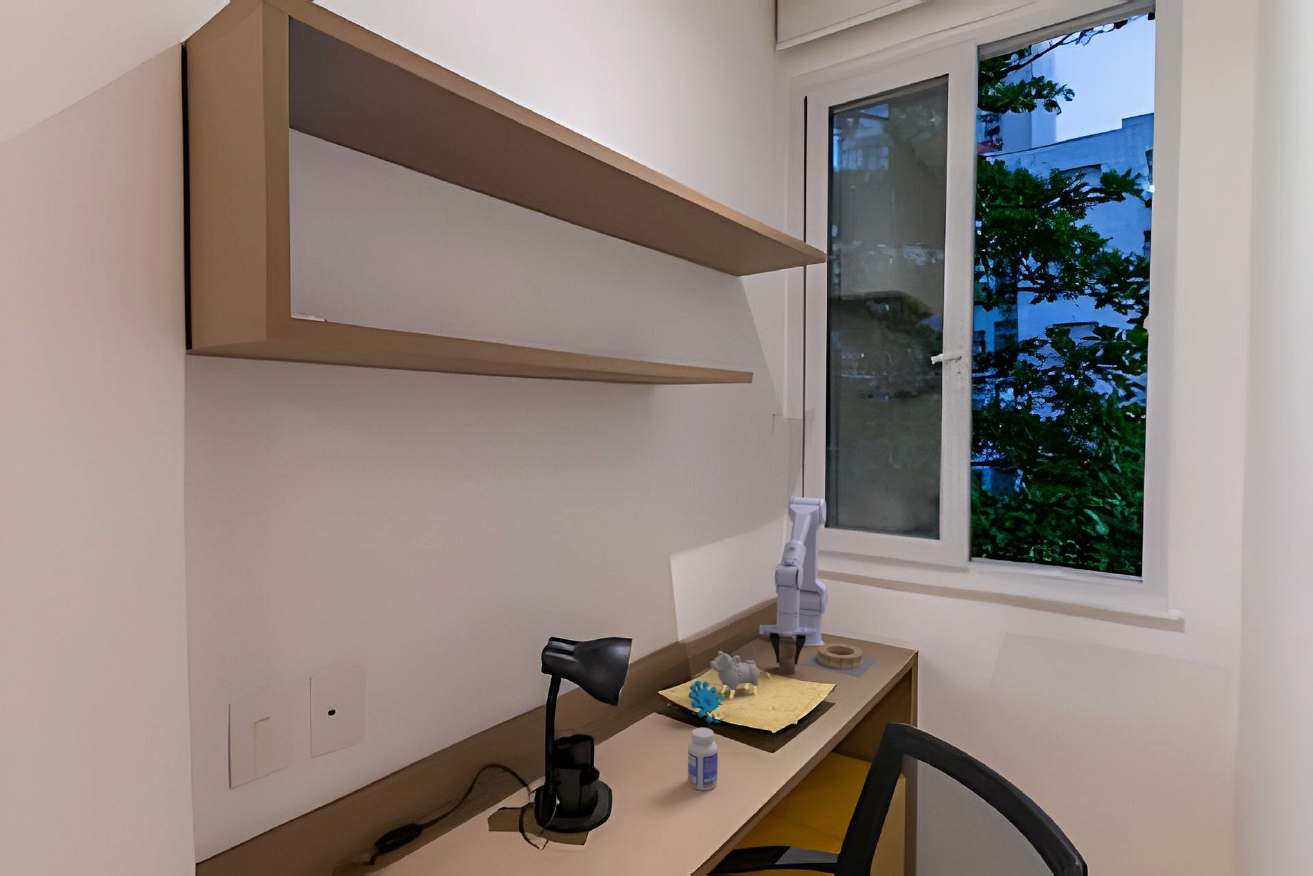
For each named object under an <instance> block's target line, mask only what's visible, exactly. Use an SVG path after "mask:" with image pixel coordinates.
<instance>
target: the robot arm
mask: <svg viewBox="0 0 1313 876" xmlns="http://www.w3.org/2000/svg"><path fill="white" fill-rule="evenodd" d="M787 514H788V517H789V519H790V521H791V522H792V525H791V526H792V527H791V532H790V540H789V541H788V542H786V543H785V545H784V548H783V553H782V555H781V561H780V565H779V566H777V567H776V568H775V572H774V584H775V594H777V595H776V597H777V598H776V599H777V601H776V624H760V625H759V629H758V630H759V635H769V641H770V644H771V646H772V648H773V651H774V654H775V658H776V664H779V643H780V636H790V637H791V638H792V640H795V666H797V665H798V661H799V659H800V658H799V657H800V655H801V653H802V652H801V651H802V649H803V647H809V646H811V647H813V646H814V647H817V646H818V647H820V646H821V645H824V644H826V643H825V642H824V641H823V640H822V626H823V625H822V619H823V614H825V612H826V611H827V609H828V601H829V600H828V599H829V598H828V596H829V595H828V588H827V586H826V585H825V584H824V583H823V582H822V581H820V580H819V579H818V574H819V573H818V571H819V570H818V569H819V568H818V567H819V566H818V565H819V562H818V561H819V560H818V559H819V529H820V526H822V525H825V524H826V521H827V502H826V500H825V499H824V498H818V497H817V498H816V497H798V496H793V495H792V496H791V497H790V498H789V500H788V504H787Z"/></svg>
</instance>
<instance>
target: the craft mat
mask: <svg viewBox="0 0 1313 876" xmlns="http://www.w3.org/2000/svg"><path fill="white" fill-rule="evenodd" d="M878 660H879V658H876V657H870V656H866V655H863V663H862V665H861V667H858V668H854V669H837V668H831V667H828V666H825V665H823V664H821V663H820V662H819V661H818V650H817V651H816V652H814V653H813V654H812V655H810V656H809V657H808V658H806V659H805V660H804V661H802V662H801V663H800V665H802V666H803V665H804V666H808V667H813V668H817V669H821V670H826V671H831V672H836V673H840V674H844V675H849V676H853V677H857V678H858V677H859V678H860V677H861V676H862V675H863V674H865V673H866V672H867V671H868V670H869V669H870V668H871V667H872V665H874V664H875V663H876V662H877V661H878Z"/></svg>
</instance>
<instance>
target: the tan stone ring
mask: <svg viewBox="0 0 1313 876" xmlns="http://www.w3.org/2000/svg"><path fill="white" fill-rule="evenodd" d="M817 651H818V661H819V662H820V663H821V664H823V665H825V666H828V667H831V668H837V669H854V668H858V667H861V665H862V663H863V656H864V652H863V651H862V650H861V649H860V648H859V647H856V646H854V645H851V644H845V643H839V642H838V643H837V642H836V643H825V644H824V645H821V646H818V647H817Z"/></svg>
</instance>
